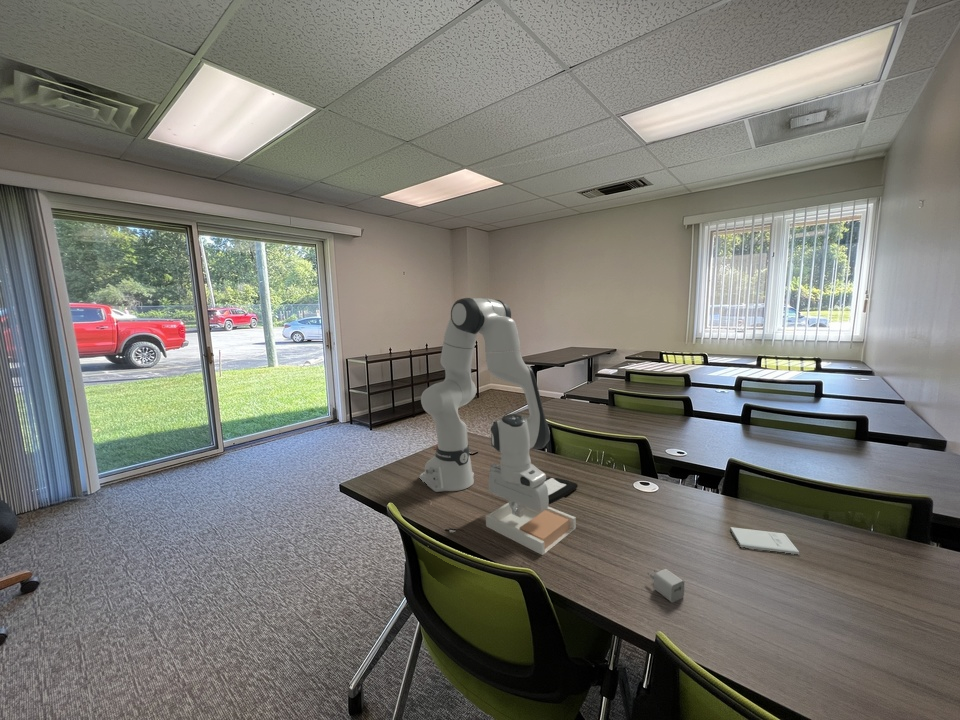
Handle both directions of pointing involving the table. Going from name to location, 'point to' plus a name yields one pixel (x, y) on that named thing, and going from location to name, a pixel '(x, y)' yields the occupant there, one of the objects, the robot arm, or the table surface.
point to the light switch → (558, 488)
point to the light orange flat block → (546, 527)
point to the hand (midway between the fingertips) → (517, 515)
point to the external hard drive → (763, 540)
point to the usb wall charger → (668, 585)
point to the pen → (452, 530)
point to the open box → (511, 525)
